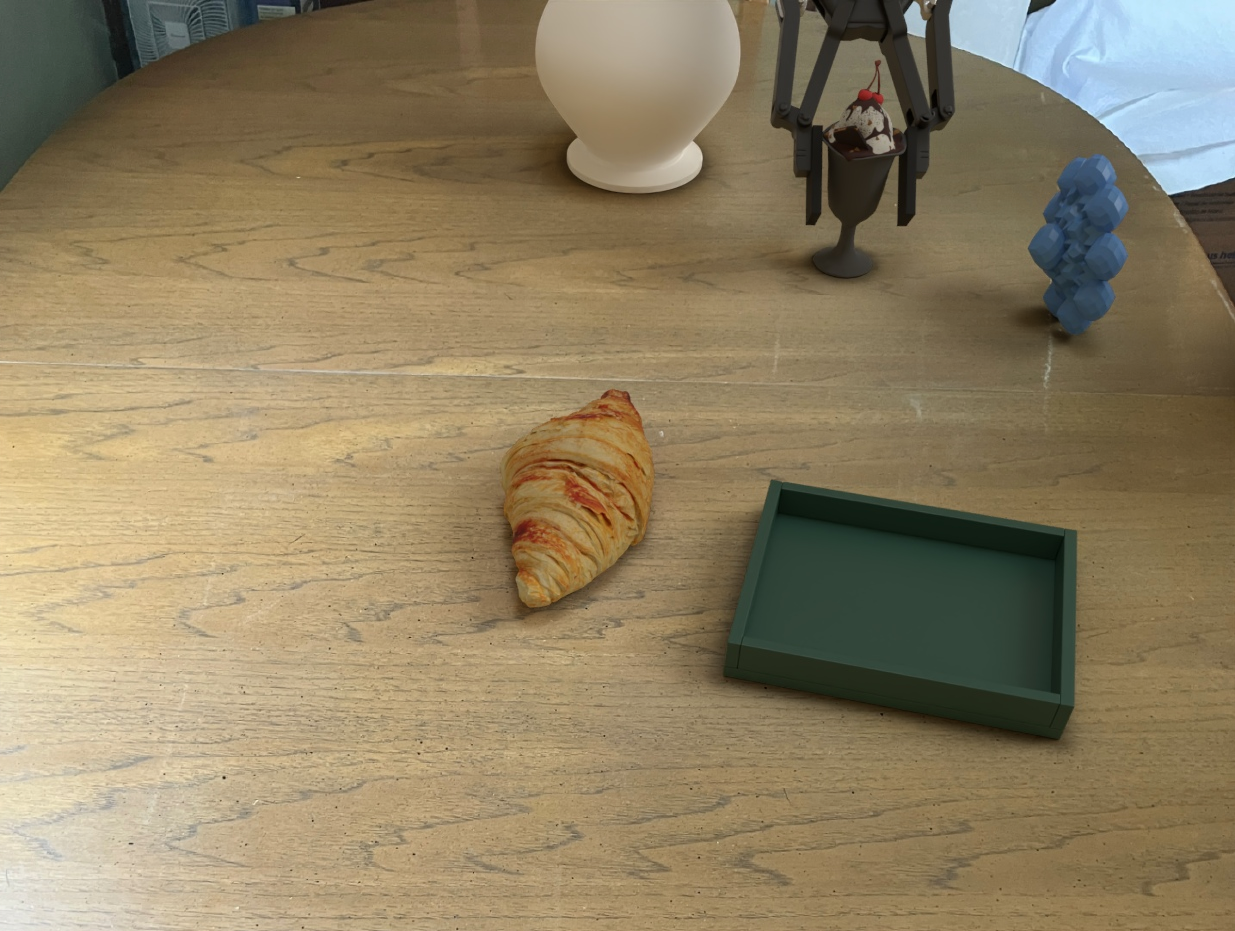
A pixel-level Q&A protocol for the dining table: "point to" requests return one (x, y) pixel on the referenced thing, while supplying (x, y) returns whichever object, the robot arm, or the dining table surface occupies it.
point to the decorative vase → (637, 84)
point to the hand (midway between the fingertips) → (859, 219)
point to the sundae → (857, 175)
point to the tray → (910, 608)
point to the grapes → (1081, 243)
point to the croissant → (577, 496)
